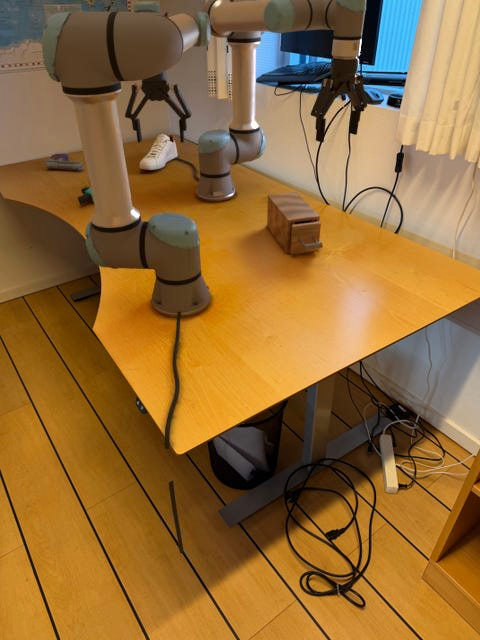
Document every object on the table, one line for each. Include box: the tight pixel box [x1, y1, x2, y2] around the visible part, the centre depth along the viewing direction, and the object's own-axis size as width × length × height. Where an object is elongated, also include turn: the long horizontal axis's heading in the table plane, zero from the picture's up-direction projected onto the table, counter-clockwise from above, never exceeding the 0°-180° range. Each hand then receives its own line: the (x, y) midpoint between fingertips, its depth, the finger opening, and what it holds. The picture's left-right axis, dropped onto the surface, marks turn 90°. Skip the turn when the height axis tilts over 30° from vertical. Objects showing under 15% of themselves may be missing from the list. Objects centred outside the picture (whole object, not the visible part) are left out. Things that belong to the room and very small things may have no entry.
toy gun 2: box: [77, 181, 130, 205], centre depth 186 cm, size 4×26×15 cm
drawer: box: [289, 220, 323, 255], centre depth 148 cm, size 26×9×9 cm, turn 15°
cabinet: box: [266, 191, 321, 254], centre depth 153 cm, size 20×10×11 cm, turn 15°
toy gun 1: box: [44, 152, 84, 171], centre depth 216 cm, size 4×19×15 cm
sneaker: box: [139, 133, 179, 171], centre depth 214 cm, size 10×29×12 cm, turn 163°
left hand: (161, 141), depth 150 cm, fingers open, 13 cm apart
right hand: (336, 137), depth 142 cm, fingers open, 13 cm apart
